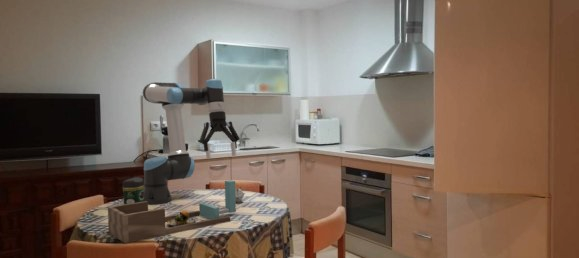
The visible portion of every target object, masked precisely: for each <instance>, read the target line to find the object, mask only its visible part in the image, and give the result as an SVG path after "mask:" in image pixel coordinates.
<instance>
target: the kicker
mask: <svg viewBox="0 0 579 258" xmlns="http://www.w3.org/2000/svg"><path fill="white" fill-rule="evenodd" d="M235 189H236V181H235V180H232V179H231V180H225V181H224V195H225V196H224V203H225V205H224V206H225V208H221V209H220V207H217V206H215V205H212V204H209V203H205V202H199V204H198V205H199V207H198V208H199V210H198V211H200V216H199V217H203V218H205V219H207V220H210V219H215V218H220V215H224V214H229V213H230V214H231V213H235V212H237V210H236V209H237V207H236V206H237V205H236V204H237V202H236V198H235Z"/></svg>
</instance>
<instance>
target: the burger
mask: <svg viewBox="0 0 579 258" xmlns="http://www.w3.org/2000/svg"><path fill="white" fill-rule="evenodd" d="M178 213H179V214H180V215H178ZM178 213H177V214H176V215H177V217H176V218H175V219H171V220H169V221H167V222H166V224H168V225H170V226H171V227H175V226H180V225H185V224H190V223H195V222H196V219H195V218H194V217H191V218H188V217H189V212H188V211H187V210H180V211H179V212H178Z"/></svg>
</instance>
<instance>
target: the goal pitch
mask: <svg viewBox="0 0 579 258" xmlns="http://www.w3.org/2000/svg"><path fill="white" fill-rule="evenodd" d="M188 213H189V217H188V218H195V217H201V216H200V210H196V211H190V212H188ZM177 214H178V213H177ZM177 214H175V215H173V214H172V215H167V216H166V209H165V208H164V207H163V208H157V209H150V210H149V204H148V202H147V201H144V202H138V203H131V204H124V203H123V204H118V205H112V206H107V220H108V222H107V224H108V233H110V234H111V235H112V236H113V237H115V238H116V239H118V240H119V241H121V242H122V243H123V244H126V243H130V242H131V243H132V242H137V241H140V240H142V241H143V240H147V239H150V238H157V237H161V236H166V235H171V234H175V233H179V232H185V231H188V230H195V229H199V227H200V228H203V227H208V226H213V225H218V224H223V223H227V222H231V216H230V215H227V216H222V217H221V216H219V218H215V219H206V220H201V221H195V223H190V224H185V225H180V226H171V227H166V223H167V221H169V220H171V219H175V218H176V217H177ZM178 215H180V213H179V214H178Z"/></svg>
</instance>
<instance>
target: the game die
mask: <svg viewBox="0 0 579 258" xmlns="http://www.w3.org/2000/svg"><path fill="white" fill-rule="evenodd" d="M241 188H242V187H241V186H240V187H239V188H236V187H235V198H236V203H243V199H244V195H246V193H245V192H244V191H243V190H242V189H241Z"/></svg>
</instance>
